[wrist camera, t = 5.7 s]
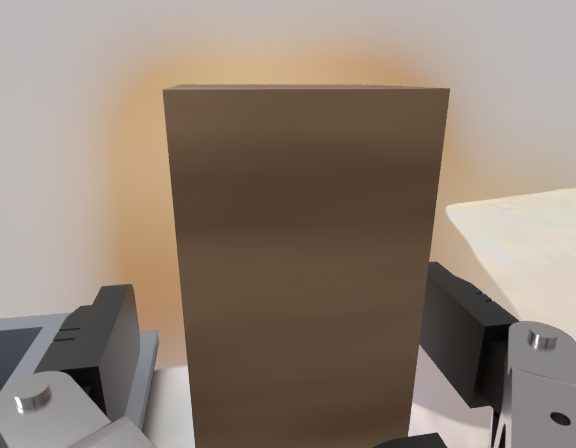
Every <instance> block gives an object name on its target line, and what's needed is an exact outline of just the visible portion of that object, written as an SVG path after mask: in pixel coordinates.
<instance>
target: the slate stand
mask: <svg viewBox="0 0 576 448" xmlns="http://www.w3.org/2000/svg"><path fill="white" fill-rule="evenodd" d="M70 314H71V313H64V314H52V315H40V316H29V317H16V318H5V319H0V392H1V391H2V390H3V389H4V388H5V387H7V386H8V385H10V384H12V383H13V382H15V381H17V380H19V379H21V378H23V377H26V376H29V375H32V374H33V373H34V371H35V369H36V367H37V366H38V364H39V362H40V361H41V359H42V357H43V356H44V354H45V352H46V351H47V349H48V347H49V346H50V344H51V343H53V339H54V337H55V335H56V334H57V332H59V329H60V327H61V325H62V324H63V322H64V320H65V318H66V317H67V316H69V315H70ZM139 333H140V354H139V359H138V363H137V367H136V372H135V376H134V380H133V384H132V388H131V392H130V396H129V400H128V404H127V408H126V412H125V417H127V418H128V419H130V420H131V421H132V422H133V423H134V424H135V425H136V426H137V427H138V429H139V430H140V431H141V432H142V430H143V425H144V419H145V414H146V409H147V403H148V398H149V393H150V387H151V382H152V377H153V371H154V366H155V361H156V355H157V350H158V345H159V338H158V330H153V331H142V332H139Z"/></svg>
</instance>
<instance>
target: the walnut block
mask: <svg viewBox="0 0 576 448" xmlns="http://www.w3.org/2000/svg"><path fill="white" fill-rule="evenodd" d="M449 93H450V89H445V88H424V87H403V86H381V85H357V84H355V85H353V84H349V85H347V84H345V85H344V84H342V85H341V84H340V85H338V84H335V85H178V86H175V87H171V88H167V89H163V99H164V109H165V120H166V131H167V142H168V153H169V164H170V174H171V186H172V196H173V208H174V217H175V218H174V219H175V230H176V241H177V251H178V262H179V274H180V283H181V284H180V285H181V295H182V306H183V317H184V328H185V339H186V350H187V361H188V372H189V383H190V394H191V405H192V416H193V427H194V438H195V448H372V447H374V446H377V445H379V444H381V443H384V442H386V441H388V440H391V439H397V438H404V437H408V431H409V423H410V414H411V406H412V398H413V389H414V381H415V373H416V364H417V357H418V348H419V340H420V332H421V324H422V315H423V307H424V299H425V291H426V283H427V274H428V266H429V257H430V249H431V241H432V233H433V225H434V216H435V208H436V200H437V192H438V184H439V175H440V167H441V159H442V150H443V142H444V134H445V126H446V118H447V109H448V100H449Z"/></svg>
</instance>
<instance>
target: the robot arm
mask: <svg viewBox="0 0 576 448" xmlns="http://www.w3.org/2000/svg"><path fill="white" fill-rule="evenodd" d="M419 344H420V345H421V346H422V348H423V349H424V350H425V352H426V353H427V354H428V356H429V357H430V358H431V359H432V361H433V362H434V363H435V364H436V366H437V367H438V368H439V369H440V371H441V372H442V373H443V374H444V376H445V377H446V378H447V380H448V381H449V382H450V383H451V384H452V386H453V387H454V388H455V390H456V391H457V392H458V393H459V395H460V396H461V397H462V398H463V400H464V401H465V402H466V403H467V405H468V406H469V407H470V408H477V407H484V406H491V407H492V408H493V411H492V417H491V421H490V434H489V447H488V448H576V342H575V340H574V339H573V338H572V337H571V336H569V335H568V334H567V333H565V332H563V331H562V330H560V329H558V328H555V327H553V326H550V325H547V324H543V323H539V322H532V321H521V322H520V321H519V320H517V319H516V318H515V317H514V316H512V315H511V314H510V313H508V312H507V311H506V310H505V309H503V308H502V307H501V306H499V305H498V304H497V303H496V302H494V301H493V302H492V300H491V298H489V297H488V296H487V295H485V294H483V293H482V291H480V290H479V289H478V288H476V287H475V286H474V285H473V284H471V283H469V282H467V281H465V280H463V279H461V278H458V277H456V276H454V275H453V274H451V273H450V272H449V271H448V270H447V269H445V268H444V267H443V266H442V265H440V264H439V263H438V262H429V266H428V274H427V283H426V291H425V299H424V307H423V315H422V324H421V332H420V340H419ZM139 354H140V333H139V325H138V318H137V310H136V303H135V296H134V289H133V286H132V285H131V284H125V285H112V286H102V287H101V289H100V291H99V293H98V295H97V297H96V299H95V300H94V303H93V304H92V305H87V306H80V307H79V308H78V309H76V310H75V311H74V312H73V313H71V314H70V315H69V316H67V317H66V318H65V320H64V322H63V324H62V325H61V327H60V329H59V332H57V334H56V335H55V337H54V339H53V343H51V344H50V346H49V347H48V349H47V351H46V352H45V354H44V356H43V357H42V359H41V361H40V362H39V364H38V366H37V367H36V369H35V371H34V373H33V374H32V375H29V376H26V377H23V378H21V379H19V380H17V381H15V382H13V383H12V384H10V385H8V386H7V387H5V388H4V389H3V390H2V391H1V392H0V448H157V447H156V446H155V445H154V444H153V443H152V442H151V441H150V440H149V439H148V438H147V437H146V436H145V435H144V434H143V433H142V432H141V431H140V430H139V429H138V427H137V426H136V425H135V424H134V423H133V422H132V421H131V420H130V419H128V418H127V417H125V412H126V408H127V404H128V400H129V396H130V392H131V388H132V384H133V380H134V376H135V372H136V367H137V363H138V359H139ZM372 448H447V446H446V445H445V443H444V442H443V440H442V439H441V437H440V436H439V434H438V433H431V434H424V435H418V436H411V437H404V438H397V439H391V440H388V441H386V442H384V443H381V444H379V445H377V446H374V447H372Z"/></svg>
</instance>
